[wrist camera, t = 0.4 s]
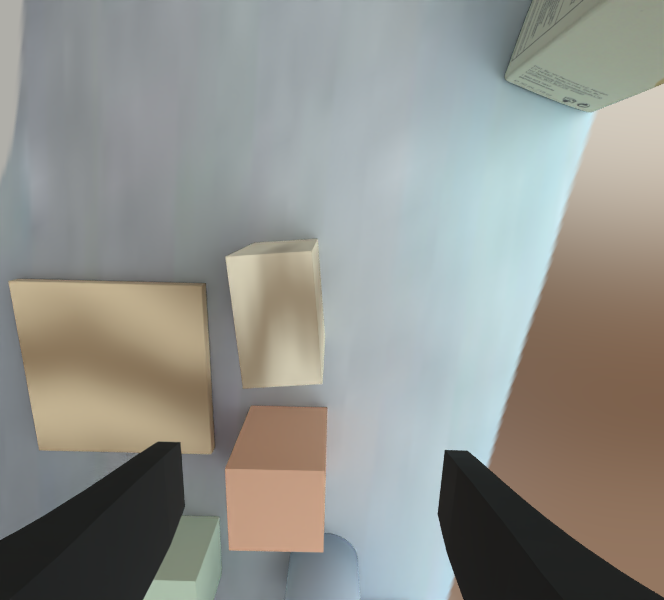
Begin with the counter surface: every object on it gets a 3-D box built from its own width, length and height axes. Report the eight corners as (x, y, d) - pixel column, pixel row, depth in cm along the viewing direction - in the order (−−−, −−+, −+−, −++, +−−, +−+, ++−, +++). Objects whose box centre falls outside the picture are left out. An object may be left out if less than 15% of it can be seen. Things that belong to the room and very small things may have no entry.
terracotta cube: (325, 472, 21) (323, 552, 16) (253, 470, 21) (229, 550, 16) (327, 407, 20) (325, 471, 15) (251, 405, 20) (225, 468, 15)
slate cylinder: (356, 588, 23) (361, 666, 19) (289, 587, 23) (280, 664, 19) (359, 533, 22) (364, 604, 18) (289, 532, 22) (280, 601, 18)
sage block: (222, 570, 23) (199, 645, 19) (121, 567, 23) (78, 642, 19) (220, 514, 22) (196, 581, 18) (114, 511, 22) (68, 577, 18)
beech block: (265, 342, 19) (325, 338, 19) (242, 388, 14) (322, 383, 14) (254, 242, 18) (317, 238, 18) (225, 256, 13) (311, 250, 13)
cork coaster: (215, 447, 21) (211, 454, 20) (47, 443, 21) (39, 450, 20) (205, 283, 18) (201, 285, 18) (18, 278, 18) (8, 281, 18)
